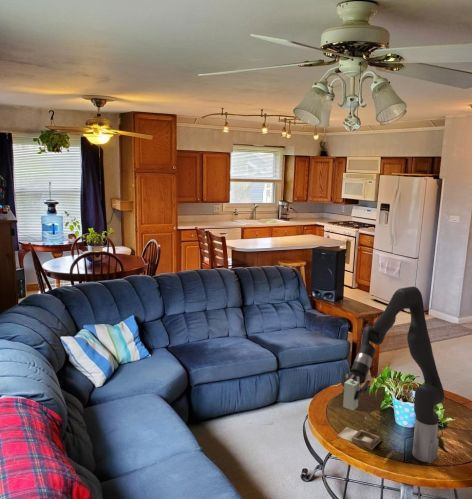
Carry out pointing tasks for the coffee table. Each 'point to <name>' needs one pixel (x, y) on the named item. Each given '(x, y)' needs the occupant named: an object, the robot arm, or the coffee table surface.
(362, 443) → the mount board
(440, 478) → the coffee table surface
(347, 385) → the cabinet block
